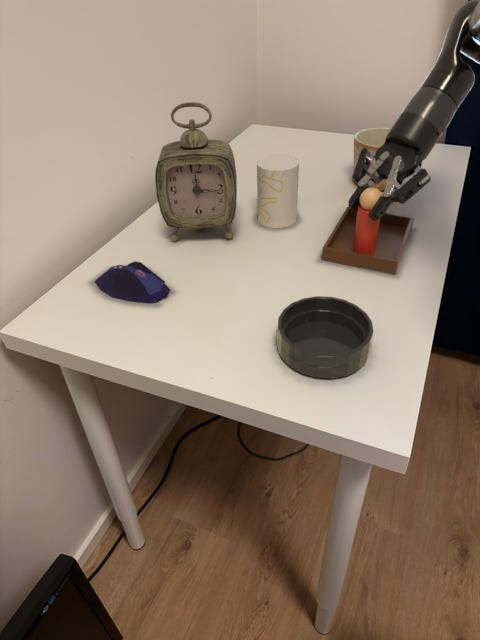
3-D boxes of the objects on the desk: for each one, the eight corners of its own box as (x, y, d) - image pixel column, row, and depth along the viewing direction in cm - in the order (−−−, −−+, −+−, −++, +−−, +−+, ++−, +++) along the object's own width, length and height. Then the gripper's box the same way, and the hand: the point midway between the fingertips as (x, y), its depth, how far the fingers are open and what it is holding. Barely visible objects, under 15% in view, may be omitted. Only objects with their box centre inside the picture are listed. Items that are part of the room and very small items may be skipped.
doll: (369, 245, 90) (378, 182, 82) (378, 256, 87) (389, 192, 79) (349, 248, 90) (356, 185, 82) (357, 259, 87) (366, 195, 79)
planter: (339, 185, 113) (343, 139, 106) (365, 167, 120) (371, 124, 113) (389, 198, 106) (397, 151, 100) (414, 179, 113) (423, 134, 107)
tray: (346, 218, 100) (347, 206, 98) (411, 229, 96) (414, 217, 94) (321, 260, 88) (322, 247, 87) (395, 274, 84) (397, 262, 82)
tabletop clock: (164, 246, 94) (143, 111, 78) (169, 224, 101) (150, 96, 85) (239, 243, 94) (232, 108, 78) (238, 221, 101) (233, 92, 85)
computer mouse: (122, 261, 90) (117, 242, 88) (186, 283, 84) (183, 264, 81) (85, 287, 84) (80, 267, 82) (151, 312, 78) (148, 292, 75)
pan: (348, 313, 76) (351, 290, 73) (384, 371, 66) (389, 347, 63) (268, 327, 74) (268, 303, 71) (292, 388, 64) (293, 364, 61)
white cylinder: (249, 217, 102) (248, 161, 94) (279, 206, 105) (279, 151, 98) (275, 232, 97) (275, 174, 89) (304, 219, 100) (307, 162, 93)
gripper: (379, 101, 81) (321, 190, 84) (453, 121, 72) (386, 219, 75) (394, 126, 87) (340, 209, 89) (465, 148, 78) (402, 238, 81)
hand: (361, 213), depth 82 cm, fingers closed on doll, 4 cm apart
